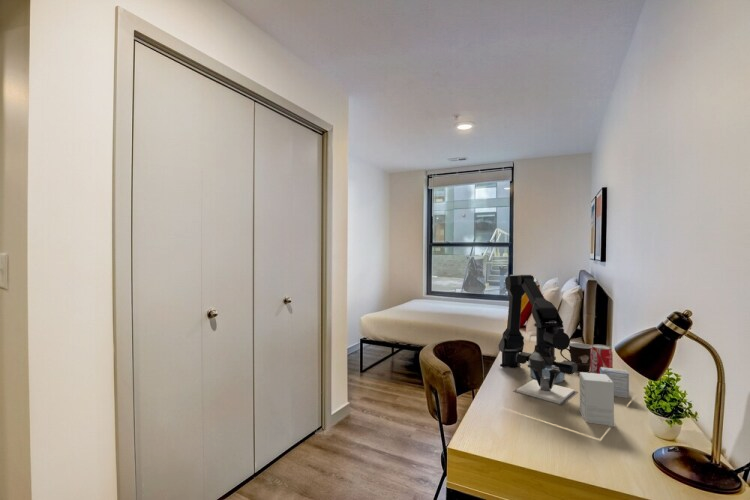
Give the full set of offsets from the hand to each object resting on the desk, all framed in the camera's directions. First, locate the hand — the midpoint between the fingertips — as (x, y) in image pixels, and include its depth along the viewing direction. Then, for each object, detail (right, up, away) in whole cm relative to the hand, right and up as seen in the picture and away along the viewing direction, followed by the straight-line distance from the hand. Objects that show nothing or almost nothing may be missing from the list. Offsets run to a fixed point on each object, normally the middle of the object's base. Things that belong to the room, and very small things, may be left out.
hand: (545, 387), depth 125 cm
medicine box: (+23, -2, -2) cm, 23 cm away
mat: (0, -2, 0) cm, 2 cm away
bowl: (+7, -2, +14) cm, 16 cm away
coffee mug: (+25, -2, +26) cm, 36 cm away
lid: (0, -2, 0) cm, 2 cm away
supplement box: (+5, -2, -20) cm, 21 cm away
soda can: (+27, -2, +12) cm, 30 cm away
